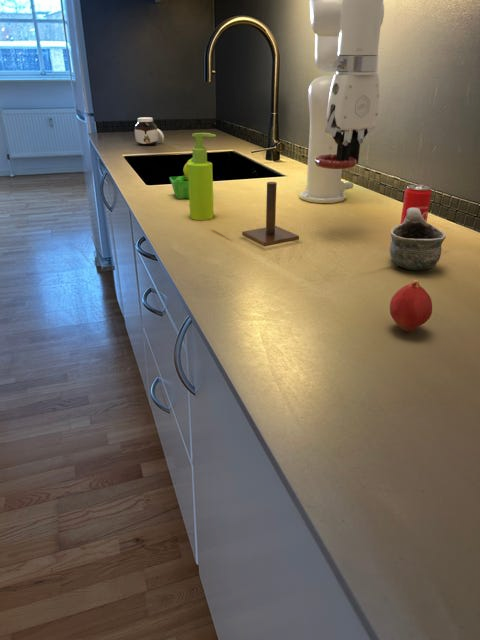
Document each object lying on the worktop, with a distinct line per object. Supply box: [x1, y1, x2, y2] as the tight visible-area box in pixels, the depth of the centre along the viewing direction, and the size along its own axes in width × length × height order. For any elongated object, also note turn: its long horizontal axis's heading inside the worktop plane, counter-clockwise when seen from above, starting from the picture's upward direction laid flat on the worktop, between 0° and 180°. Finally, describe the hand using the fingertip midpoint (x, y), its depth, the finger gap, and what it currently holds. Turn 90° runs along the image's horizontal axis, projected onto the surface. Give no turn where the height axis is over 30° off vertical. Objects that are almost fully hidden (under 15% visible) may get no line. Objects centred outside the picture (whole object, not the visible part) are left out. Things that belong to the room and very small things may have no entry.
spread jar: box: [134, 116, 165, 147], centre depth 236 cm, size 12×11×12 cm
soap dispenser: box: [188, 132, 217, 221], centre depth 124 cm, size 6×7×20 cm
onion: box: [389, 279, 433, 332], centre depth 73 cm, size 6×6×8 cm
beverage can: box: [399, 184, 432, 225], centre depth 108 cm, size 5×5×12 cm
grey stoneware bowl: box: [389, 208, 447, 271], centre depth 97 cm, size 10×12×10 cm
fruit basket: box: [169, 157, 193, 200], centre depth 145 cm, size 11×9×11 cm
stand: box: [241, 181, 300, 247], centre depth 109 cm, size 9×9×12 cm
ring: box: [315, 154, 358, 170], centre depth 106 cm, size 8×8×2 cm
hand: (346, 163), depth 107 cm, fingers closed on ring, 2 cm apart
